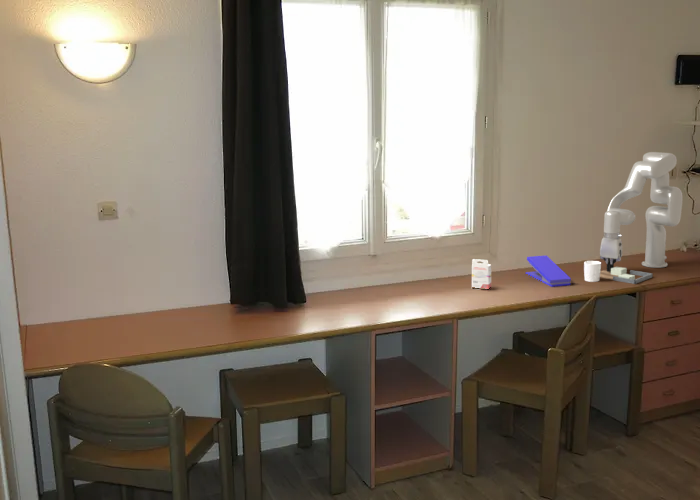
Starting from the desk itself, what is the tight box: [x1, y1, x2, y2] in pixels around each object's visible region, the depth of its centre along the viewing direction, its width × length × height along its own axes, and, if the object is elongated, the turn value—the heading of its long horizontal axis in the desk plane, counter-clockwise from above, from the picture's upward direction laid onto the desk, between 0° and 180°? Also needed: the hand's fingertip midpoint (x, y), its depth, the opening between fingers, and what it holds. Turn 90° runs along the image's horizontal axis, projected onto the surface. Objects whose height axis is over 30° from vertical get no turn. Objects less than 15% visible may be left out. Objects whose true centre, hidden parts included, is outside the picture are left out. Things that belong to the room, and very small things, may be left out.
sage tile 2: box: [611, 266, 628, 276], centre depth 362 cm, size 6×6×3 cm
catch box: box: [612, 269, 654, 285], centre depth 353 cm, size 18×11×3 cm, turn 132°
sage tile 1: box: [618, 273, 636, 280], centre depth 350 cm, size 6×6×3 cm
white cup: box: [583, 260, 602, 283], centre depth 352 cm, size 8×8×10 cm
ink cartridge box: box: [471, 258, 492, 290], centre depth 347 cm, size 9×5×15 cm, turn 62°
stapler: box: [525, 255, 572, 288], centre depth 360 cm, size 12×28×10 cm, turn 13°
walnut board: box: [600, 269, 629, 281], centre depth 362 cm, size 16×14×1 cm
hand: (609, 271), depth 366 cm, fingers closed
